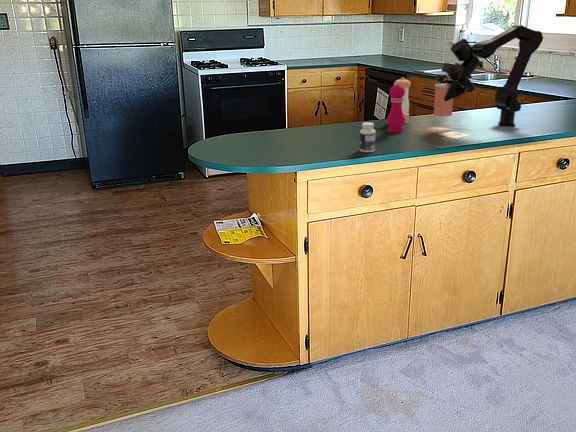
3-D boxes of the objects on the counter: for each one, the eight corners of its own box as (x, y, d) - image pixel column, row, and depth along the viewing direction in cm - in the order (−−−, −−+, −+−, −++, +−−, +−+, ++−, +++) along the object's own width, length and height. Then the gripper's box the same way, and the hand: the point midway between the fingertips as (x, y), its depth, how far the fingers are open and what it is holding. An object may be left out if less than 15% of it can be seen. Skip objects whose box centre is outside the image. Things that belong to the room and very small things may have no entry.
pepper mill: (404, 133, 235) (407, 82, 228) (386, 132, 236) (388, 82, 230) (404, 129, 242) (407, 80, 235) (386, 129, 243) (388, 80, 236)
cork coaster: (427, 127, 245) (427, 126, 245) (451, 128, 242) (452, 127, 242) (425, 132, 236) (425, 131, 236) (451, 133, 233) (451, 132, 233)
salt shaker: (410, 121, 259) (413, 77, 252) (406, 124, 252) (409, 78, 246) (394, 120, 262) (396, 76, 255) (390, 123, 255) (392, 78, 249)
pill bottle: (358, 149, 210) (358, 122, 207) (372, 148, 211) (373, 121, 207) (361, 152, 205) (361, 125, 202) (376, 152, 206) (377, 124, 202)
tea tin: (444, 113, 238) (446, 83, 234) (452, 115, 234) (454, 84, 230) (433, 114, 236) (435, 84, 232) (441, 116, 232) (443, 85, 228)
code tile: (452, 132, 236) (452, 131, 236) (470, 135, 229) (470, 134, 229) (437, 135, 231) (437, 134, 231) (455, 138, 224) (455, 137, 224)
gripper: (440, 53, 237) (416, 83, 237) (471, 57, 220) (444, 88, 220) (455, 72, 242) (431, 101, 242) (485, 77, 226) (460, 108, 226)
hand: (440, 99), depth 232 cm, fingers closed on tea tin, 5 cm apart
